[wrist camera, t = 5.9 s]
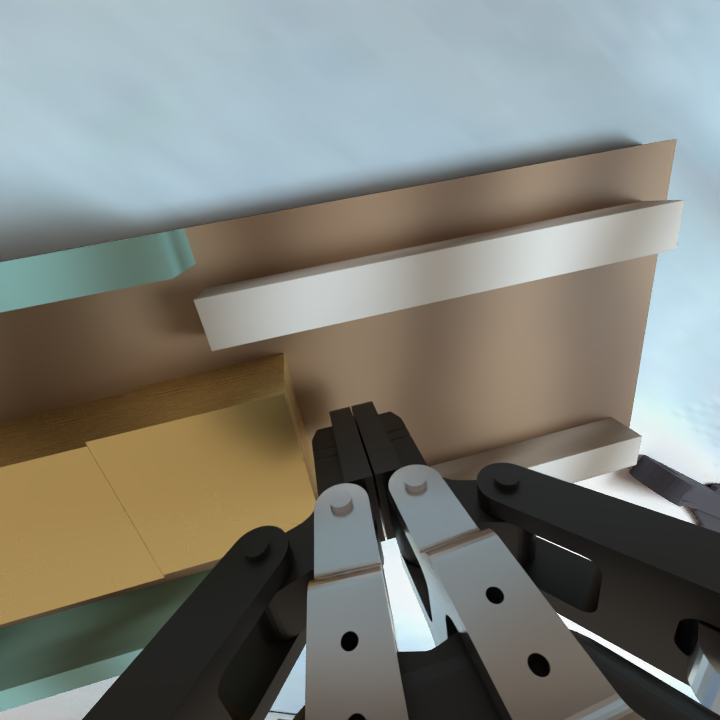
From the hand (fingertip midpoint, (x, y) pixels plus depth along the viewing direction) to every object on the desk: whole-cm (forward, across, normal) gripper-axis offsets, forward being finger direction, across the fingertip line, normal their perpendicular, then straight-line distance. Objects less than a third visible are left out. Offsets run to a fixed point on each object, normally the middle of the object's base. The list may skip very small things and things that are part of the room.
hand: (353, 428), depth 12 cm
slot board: (+2, +2, 0) cm, 4 cm away
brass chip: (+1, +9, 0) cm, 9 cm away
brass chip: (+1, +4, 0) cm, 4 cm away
